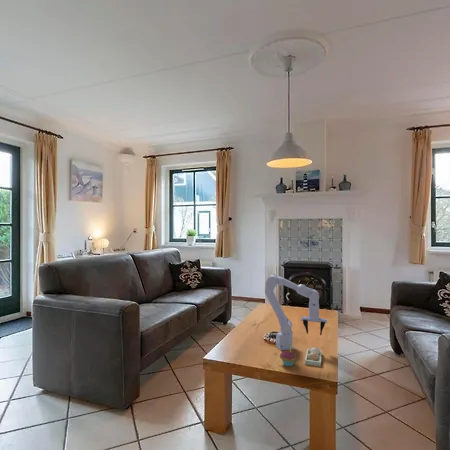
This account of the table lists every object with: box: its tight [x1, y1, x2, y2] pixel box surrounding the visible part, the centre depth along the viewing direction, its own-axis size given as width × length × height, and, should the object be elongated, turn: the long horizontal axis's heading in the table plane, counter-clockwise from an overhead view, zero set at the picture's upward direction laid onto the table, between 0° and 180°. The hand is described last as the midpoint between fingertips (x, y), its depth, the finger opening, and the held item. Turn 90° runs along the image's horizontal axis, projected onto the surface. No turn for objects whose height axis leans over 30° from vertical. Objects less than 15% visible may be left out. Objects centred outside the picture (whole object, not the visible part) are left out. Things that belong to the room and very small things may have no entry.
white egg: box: [310, 346, 320, 355], centre depth 172 cm, size 5×5×5 cm
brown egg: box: [308, 352, 318, 361], centre depth 165 cm, size 5×5×5 cm
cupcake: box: [279, 343, 297, 367], centre depth 163 cm, size 9×8×12 cm
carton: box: [304, 348, 323, 367], centre depth 169 cm, size 16×8×2 cm, turn 161°
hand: (314, 333), depth 182 cm, fingers open, 7 cm apart
